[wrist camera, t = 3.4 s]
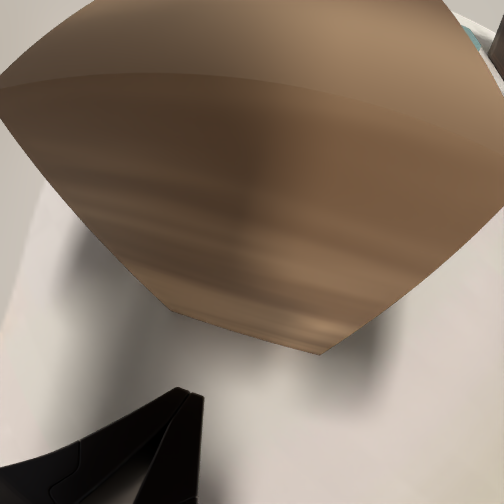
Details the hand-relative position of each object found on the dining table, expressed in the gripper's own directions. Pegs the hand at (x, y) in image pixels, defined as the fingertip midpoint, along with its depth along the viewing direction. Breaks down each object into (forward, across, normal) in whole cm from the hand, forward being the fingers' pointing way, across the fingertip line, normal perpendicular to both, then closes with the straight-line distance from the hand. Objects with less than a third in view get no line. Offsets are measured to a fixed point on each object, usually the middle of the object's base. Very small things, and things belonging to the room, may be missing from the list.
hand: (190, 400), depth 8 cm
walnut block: (+11, 0, -2) cm, 12 cm away
